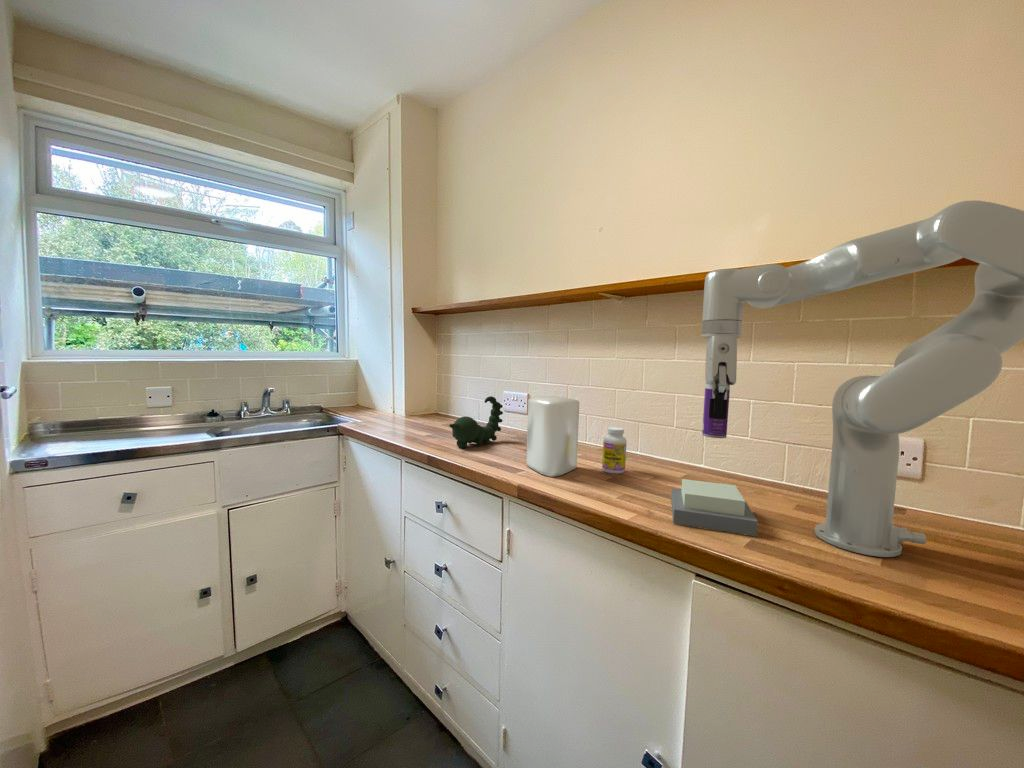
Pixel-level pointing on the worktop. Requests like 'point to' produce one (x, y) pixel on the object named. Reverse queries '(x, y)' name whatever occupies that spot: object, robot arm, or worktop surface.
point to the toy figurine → (477, 427)
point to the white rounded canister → (552, 435)
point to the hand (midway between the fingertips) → (715, 415)
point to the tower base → (712, 518)
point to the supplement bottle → (614, 451)
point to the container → (711, 425)
